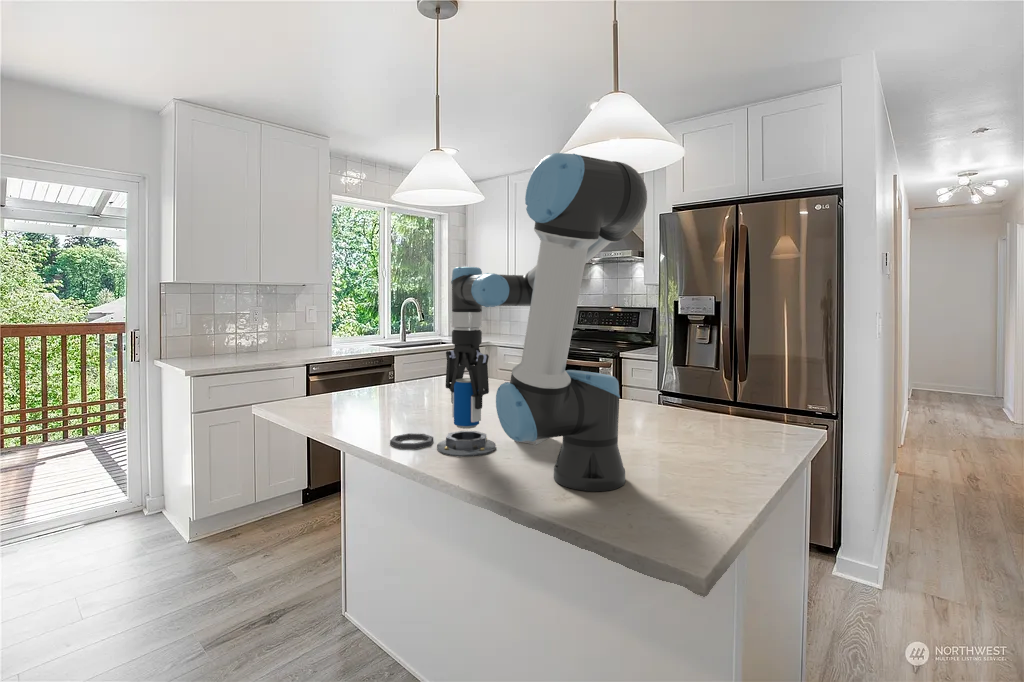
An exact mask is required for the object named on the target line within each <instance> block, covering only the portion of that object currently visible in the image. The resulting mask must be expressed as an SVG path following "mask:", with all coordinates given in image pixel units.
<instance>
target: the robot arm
mask: <svg viewBox="0 0 1024 682" xmlns="http://www.w3.org/2000/svg"><path fill="white" fill-rule="evenodd" d="M525 190H526V191H525V198H524V199H525V205H526V207H525V209H526V212H527V216H528V217H529V218H530V219H531V220H532V221H534V228H533V231H534V232H535V234H536V235H537V236H538V238H539V240H540V244H539V251H538V256H537V261H536V264H535V265H534V266H533V267H531V269H530V270H529V271H528V272H527V273H526V274H524V275H523V274H520V275H519V274H497V273H489V272H485V273H483V271H482V269H481V268H480V267H477V266H476V267H475V266H457V267H454V268H453V269H452V273H451V276H452V277H451V282H450V283H451V327H452V328H453V329H452V331H451V343H452V345H454V348H453V350H446V352H445V356H446V369H445V370H446V372H445V388H446V389H448V390H449V391H450V392H451V393H450V394H451V395H450V396H451V404H452V411H451V412H452V414H451V415H452V418H453V419H454V384H455V382H456V379H461V378H464V375H465V371H467V372H468V374H469V375H468V376H469V378H470V380H471V385H472V390H473V395H472V396H471V422H477V421H479V422H480V421H482V409H483V397H484V396H485V395H487V394H489V393H490V388H489V368H488V362H489V358H490V356H489V354H488V353H487V354H485V353H481V350H480V345H482V339H483V335H482V334H483V332H482V330H481V328H482V327H483V325H482V322H483V320H482V311H483V307H485V308H489V307H491V308H495V307H529V313H528V317H527V325H526V330H525V336H524V337H525V339H524V345H523V348H524V349H523V348H522V357H521V361H520V363H518V364H516V365H515V366H513V368H512V371H511V375H510V381H505V382H504V383H502V384H500V385H499V386H498V388H497V390H496V394H495V408H496V414H497V418H498V420H499V423H500V426H501V428H502V430H503V431H504V433H505V434H506V435H507V436H508V437H509V438H510V439H511V440H513V441H514V440H515V441H514V442H516V441H535V440H539V439H546V438H548V439H552V438H559V437H562V441H561V442H562V444H561V446H560V449H559V452H558V455H557V458H556V462H555V463H554V467H553V479H554V481H555V482H556V483H557V484H559V485H561V486H563V487H566V488H568V489H572V490H578V491H583V492H584V491H585V492H604V491H605V492H606V491H613V490H616V489H619V488H622V487H623V486H624V485H625V483H626V470H625V467H624V463H623V460H622V455H621V453H620V449H619V418H620V417H619V413H620V412H619V411H620V410H619V409H620V398H621V396H620V385H619V384H620V383H619V380H618V379H617V378H616V376H613V375H610V374H605V373H599V372H591V371H584V370H576V369H567V370H566V367H567V361H568V357H569V356H568V355H569V350H570V345H571V341H572V340H571V339H572V336H573V329H574V326H575V325H574V323H575V320H576V314H577V313H576V312H577V308H578V302H579V297H580V293H581V292H580V291H581V287H582V282H583V276H584V270H585V266H586V264H587V263H588V262H590V261H591V260H592V259H593V258H594V257H595V256H596V255H598V254H599V253H600V252H602V250H604V249H605V248H606V247H607V246H608V245H609V244H611V243H618V242H620V241H622V240H623V239H624V238H625V237H626V236H628V235H629V234H630V233H631V232H632V231H633V230H634V229H635V228H636V227H637V225H638V224H639V223H640V222H641V220H642V219H643V217H644V214H645V212H646V209H647V205H648V203H647V202H648V190H647V186H646V183H645V181H644V179H643V177H642V176H641V175H640V173H639V172H638V170H636V169H635V168H633V167H632V166H631V165H629V164H627V163H625V162H620V161H611V160H607V159H601V158H597V157H590V156H585V155H582V154H576V153H562V152H556V153H555V152H554V153H550V154H548V155H546V156H545V157H543V159H541V160H540V162H539V163H538V164H537V165H536V166H535V167H534V169H533V171H532V173H531V174H530V177H529V179H528V182H527V186H526V189H525ZM546 440H547V439H546Z"/></svg>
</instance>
